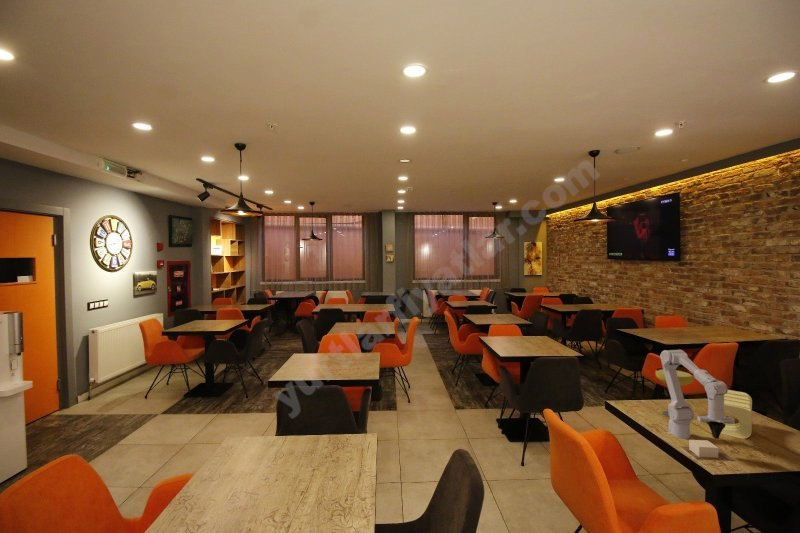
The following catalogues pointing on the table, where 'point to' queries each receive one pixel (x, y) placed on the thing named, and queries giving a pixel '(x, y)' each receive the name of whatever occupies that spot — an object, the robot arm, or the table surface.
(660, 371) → the cocktail glass
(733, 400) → the slatted curved stool
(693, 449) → the carton
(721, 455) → the brown flat slab
